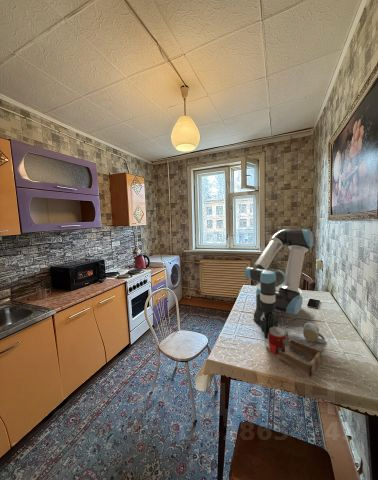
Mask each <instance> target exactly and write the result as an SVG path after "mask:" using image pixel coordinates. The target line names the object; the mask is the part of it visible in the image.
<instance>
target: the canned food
mask: <svg viewBox="0 0 378 480" xmlns="http://www.w3.org/2000/svg"><path fill="white" fill-rule="evenodd" d="M286 338H287V337H286V331H285V330H284V329H283V328H281V327H278V326H273V327H271V328H270V329H269V345H268V349H269V351H270V352H271V354H273V355H275V356H278V357H279V350H280V351H282V352H284V353H286Z"/></svg>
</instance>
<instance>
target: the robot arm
mask: <svg viewBox="0 0 378 480" xmlns="http://www.w3.org/2000/svg"><path fill="white" fill-rule="evenodd" d="M286 246H287V247H288V249H289V254H288V259H287V264H286V268H285V272H284V271H283V270H280V269H278V270H270V269H269V270H268V267H269V266H270V264H271V263H272V261H273V260H274V258H275V256H276V255H277V253H278V252H279V250H281V249H282V248H283V247H286ZM313 246H314V235H313V232H312V231H311V229H309V228H308V229H305V228H283V229H281V230H278V231H277V232H275V233H274V234H273V235H272V236H270V238H269V239H268V244H267V245H266V246H265V248H264V250H263V251H262V252H261V253H260V255H259V257H258V258H257V260H256V261H255V263H254V264H253V265H252V266H247V267H246V268H245V270H244V276H245V278H246V280H250V281H254V282H259V284H260V286H259V287H258V288H257V289H256V290H255V299H256V300H255V304H256V306H255V311H254V313H253V321H254V322H255V323H256V324H257V325H260V328H261V332H262V333H263V336H264V337H263V340H264V341H263V342H264V344H266V345H268V346H269V329H270V328H271V327H275V326H276V325H278V323H279V318H278V316H277V311H275V309H276V310H280V311H283V312H282V313H286V314H291V315H297V314H299V312H300V310H302V309H301V308H302V305H303V303H304V302H303V296H302V295H301V296H300V292H299V291H298V288H299V285H300V280H301V276H302V270H303V264H304V260H305V255H306V253H307V252H308V251H309V250H310V249H311V248H313ZM281 284H283V286H281V287H280V288H279V291H278V290H276V287H277V286H279V285H281Z"/></svg>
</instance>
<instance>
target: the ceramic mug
mask: <svg viewBox="0 0 378 480" xmlns="http://www.w3.org/2000/svg"><path fill="white" fill-rule="evenodd" d="M302 334H303V337H304V339H305V340H306V341H308V342H312V343H314V342H318V343H321V344H324V343H325V342H326V338H325V336H324V335H323V334H322V333H320V329H319V327H318V326H317V325H316V323H314V322H305V323H304V325H303V330H302ZM319 337H320V338H321V339H320V338H319Z"/></svg>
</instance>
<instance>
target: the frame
mask: <svg viewBox="0 0 378 480" xmlns="http://www.w3.org/2000/svg"><path fill="white" fill-rule="evenodd" d="M289 349H290V350H293V351H295V352H297V353H299V354H301V355H303V356H306V357H308V358H310V359H312V360H311V361H310V362H309V363H308V362H306V361H304V360H302V359H299V358H297V357H295V356H293V355H291V354H288V353H286V352H285V353H284V352H282V351H280V350H279V356H278V362H279V363H282V364H284V365H287V367H289V368H291V369H294V370H296V371H298V372H300V373H301V374H304V375H305V376H307V377H309V378H312V376H313V374H314V373H315V372H316V370H317V368H318V367H319V365H320V363H321V362H322V350H320V349H317V348H315V347H312V346H310V345H308V344H305V343H302V342H300V341H297V340H295V339H292V338H290V339H289Z"/></svg>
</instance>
